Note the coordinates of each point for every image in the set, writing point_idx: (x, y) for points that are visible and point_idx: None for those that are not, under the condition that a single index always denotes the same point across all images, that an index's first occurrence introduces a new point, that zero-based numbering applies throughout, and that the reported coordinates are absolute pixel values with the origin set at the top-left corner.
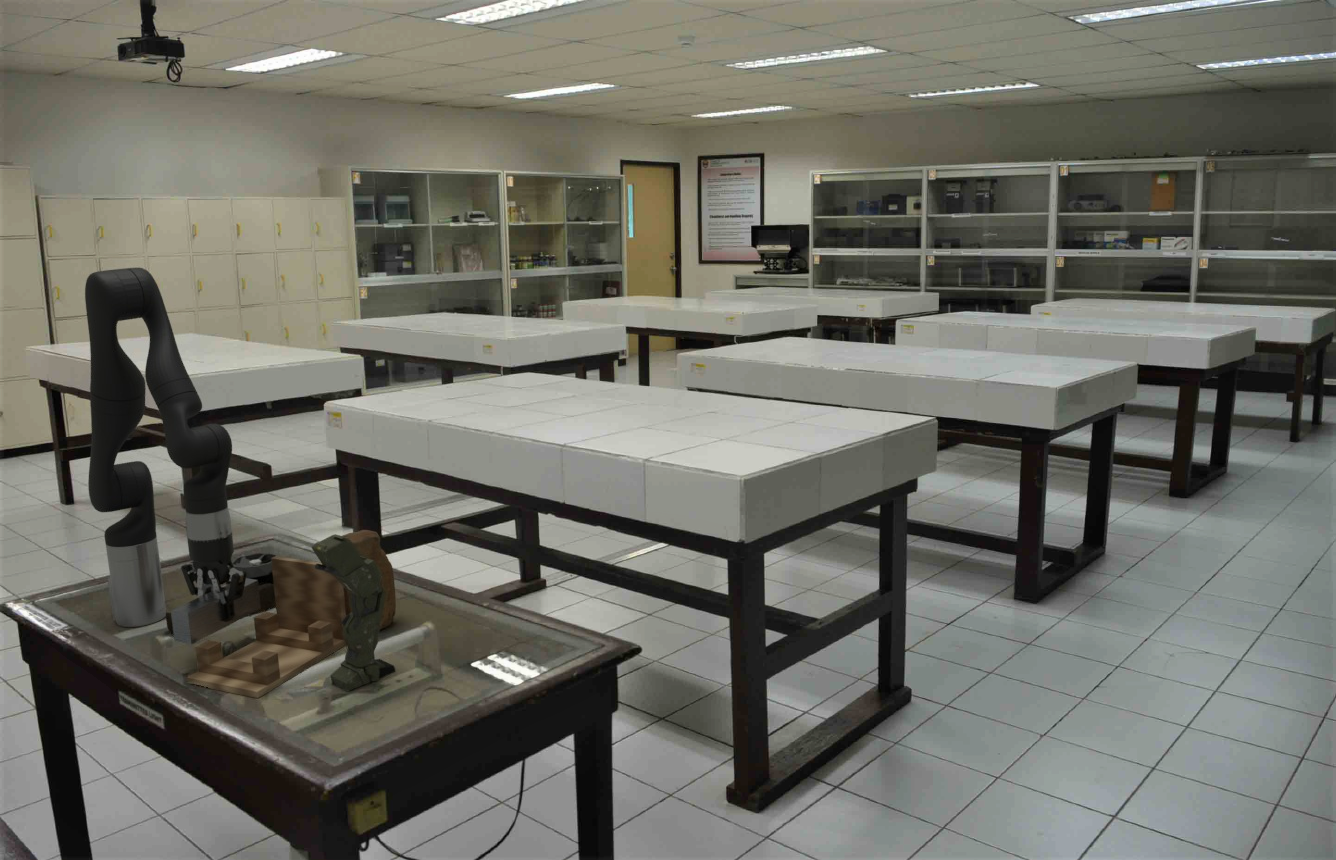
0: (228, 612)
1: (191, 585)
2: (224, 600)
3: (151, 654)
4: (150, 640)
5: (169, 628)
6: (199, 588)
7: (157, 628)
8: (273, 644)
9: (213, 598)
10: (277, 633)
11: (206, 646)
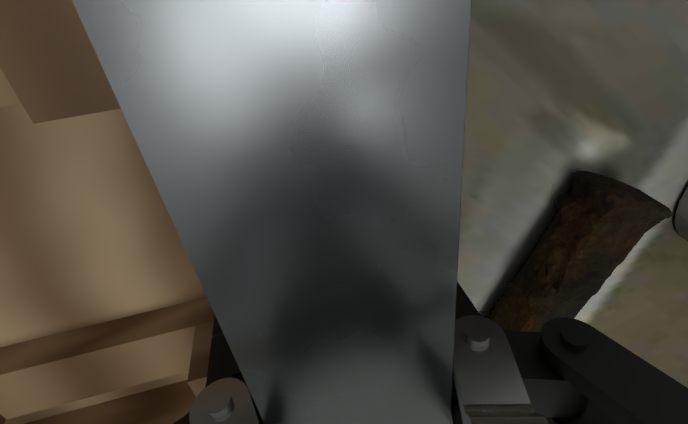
0: (213, 334)
1: (630, 401)
2: (200, 418)
3: (557, 34)
4: (630, 110)
5: (609, 178)
6: (504, 420)
7: (656, 174)
8: (167, 302)
9: (310, 387)
10: (166, 346)
11: (30, 16)
